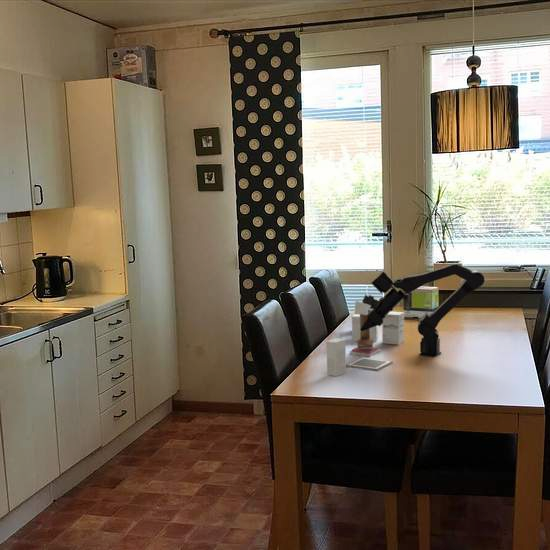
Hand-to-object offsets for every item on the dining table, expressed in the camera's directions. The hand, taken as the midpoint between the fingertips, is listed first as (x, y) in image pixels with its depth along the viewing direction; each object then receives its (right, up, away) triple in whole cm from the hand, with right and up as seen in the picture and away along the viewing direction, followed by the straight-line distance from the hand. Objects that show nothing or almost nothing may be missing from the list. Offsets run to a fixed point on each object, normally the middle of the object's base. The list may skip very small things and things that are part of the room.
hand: (361, 329), depth 270 cm
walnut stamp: (+2, -6, +1) cm, 7 cm away
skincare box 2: (+5, -6, +25) cm, 26 cm away
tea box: (+39, 0, +73) cm, 83 cm away
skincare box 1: (-12, -13, -28) cm, 33 cm away
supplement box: (+16, -7, +18) cm, 25 cm away
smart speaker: (+7, -4, +42) cm, 43 cm away
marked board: (+1, -12, -17) cm, 21 cm away
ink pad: (+2, -9, +1) cm, 10 cm away
